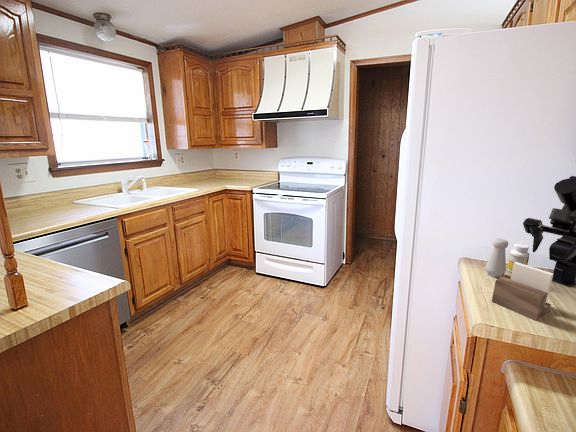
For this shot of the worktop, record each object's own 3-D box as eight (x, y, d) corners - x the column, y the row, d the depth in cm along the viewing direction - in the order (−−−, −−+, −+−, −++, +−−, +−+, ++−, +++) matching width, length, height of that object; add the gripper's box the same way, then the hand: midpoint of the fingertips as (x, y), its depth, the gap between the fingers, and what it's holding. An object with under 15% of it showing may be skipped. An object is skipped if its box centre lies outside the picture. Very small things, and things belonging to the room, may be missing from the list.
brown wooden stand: (505, 293, 96) (510, 272, 94) (549, 310, 87) (555, 288, 85) (491, 301, 92) (495, 280, 90) (535, 320, 83) (541, 297, 81)
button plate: (512, 285, 95) (517, 261, 92) (548, 298, 87) (555, 272, 85) (508, 287, 93) (513, 263, 91) (544, 301, 86) (551, 275, 84)
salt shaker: (507, 279, 104) (515, 243, 101) (488, 278, 105) (495, 242, 102) (499, 272, 110) (506, 237, 106) (481, 270, 111) (488, 236, 107)
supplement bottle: (517, 267, 113) (522, 242, 110) (529, 274, 108) (535, 248, 105) (503, 268, 113) (508, 242, 110) (514, 274, 108) (520, 248, 105)
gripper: (531, 192, 98) (507, 232, 96) (613, 204, 83) (587, 252, 80) (537, 213, 104) (515, 250, 102) (615, 227, 89) (591, 272, 86)
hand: (548, 255), depth 92 cm, fingers open, 7 cm apart
